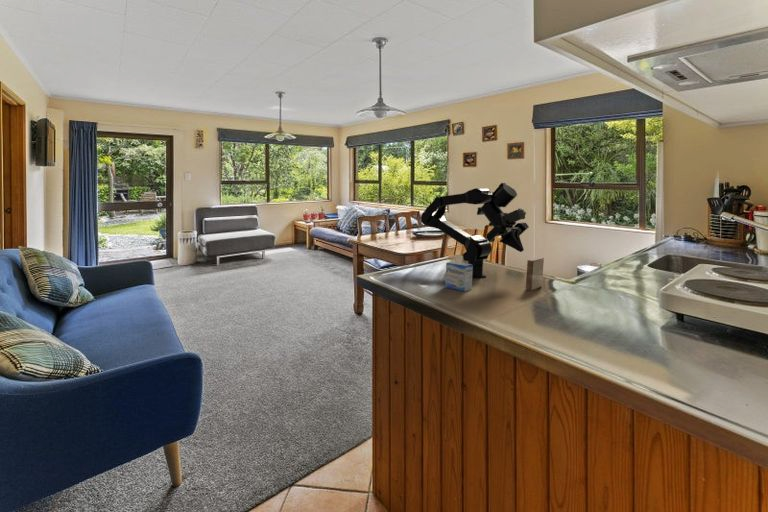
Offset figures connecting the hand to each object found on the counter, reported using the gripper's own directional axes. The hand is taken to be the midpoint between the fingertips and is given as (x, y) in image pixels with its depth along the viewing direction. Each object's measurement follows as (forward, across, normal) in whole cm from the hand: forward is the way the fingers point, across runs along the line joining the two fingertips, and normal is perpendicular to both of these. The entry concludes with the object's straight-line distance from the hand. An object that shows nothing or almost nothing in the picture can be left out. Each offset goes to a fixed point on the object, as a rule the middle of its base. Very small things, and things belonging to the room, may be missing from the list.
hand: (522, 251), depth 139 cm
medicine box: (0, -19, +17) cm, 25 cm away
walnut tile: (+12, 0, +5) cm, 13 cm away
